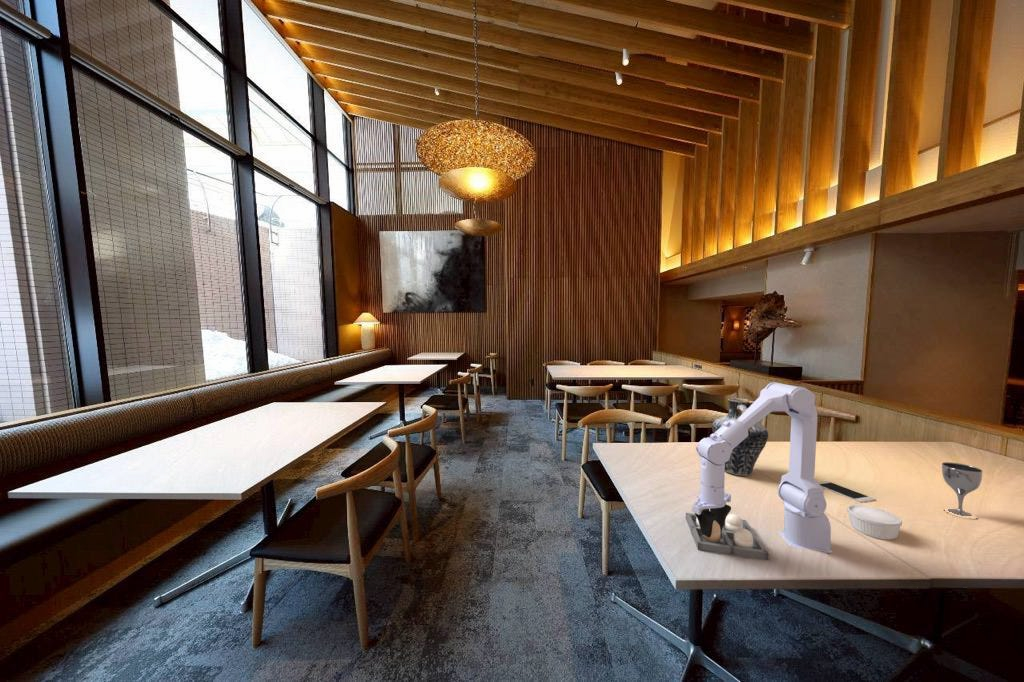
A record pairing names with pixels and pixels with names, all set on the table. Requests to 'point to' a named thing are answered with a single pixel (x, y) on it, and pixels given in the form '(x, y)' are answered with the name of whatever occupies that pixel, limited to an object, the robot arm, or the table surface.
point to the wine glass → (961, 482)
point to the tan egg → (714, 533)
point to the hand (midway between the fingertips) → (711, 532)
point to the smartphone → (845, 492)
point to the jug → (750, 447)
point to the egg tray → (727, 541)
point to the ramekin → (874, 522)
